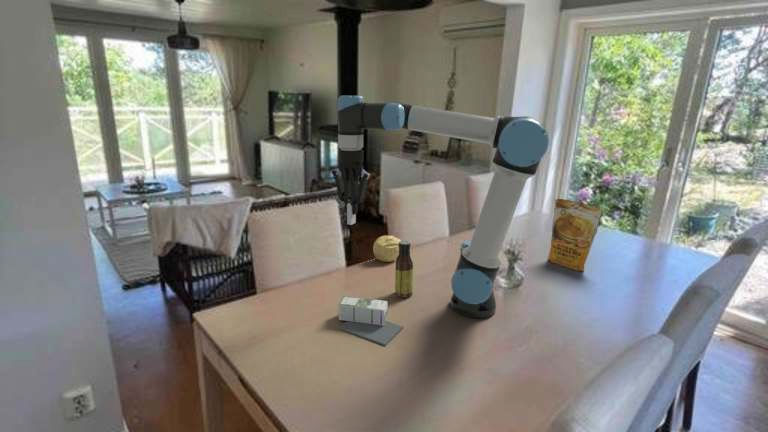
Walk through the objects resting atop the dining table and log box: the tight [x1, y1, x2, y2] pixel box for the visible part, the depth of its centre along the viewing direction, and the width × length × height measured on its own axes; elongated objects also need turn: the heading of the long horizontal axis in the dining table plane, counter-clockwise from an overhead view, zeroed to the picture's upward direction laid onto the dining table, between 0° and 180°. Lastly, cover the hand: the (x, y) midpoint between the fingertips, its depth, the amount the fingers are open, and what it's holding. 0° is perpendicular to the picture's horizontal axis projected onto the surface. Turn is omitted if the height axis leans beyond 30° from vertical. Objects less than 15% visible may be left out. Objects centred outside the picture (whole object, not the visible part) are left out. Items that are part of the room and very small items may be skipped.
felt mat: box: [338, 320, 404, 347], centre depth 123 cm, size 16×11×1 cm
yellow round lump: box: [372, 235, 402, 263], centre depth 174 cm, size 12×12×11 cm
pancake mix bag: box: [547, 198, 603, 272], centre depth 173 cm, size 7×19×28 cm, turn 40°
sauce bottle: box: [394, 240, 414, 299], centre depth 142 cm, size 6×6×20 cm
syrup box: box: [338, 295, 389, 326], centre depth 127 cm, size 6×6×14 cm
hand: (351, 223), depth 129 cm, fingers closed
